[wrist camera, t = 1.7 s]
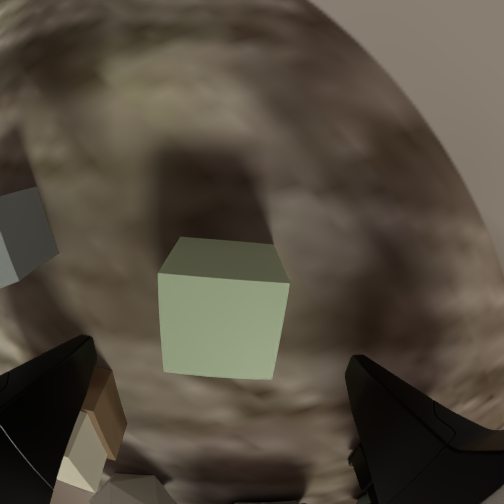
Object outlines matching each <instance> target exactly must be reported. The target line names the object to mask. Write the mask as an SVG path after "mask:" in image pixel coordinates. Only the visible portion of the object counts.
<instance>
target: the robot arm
mask: <svg viewBox="0 0 504 504" xmlns="http://www.w3.org/2000/svg"><path fill="white" fill-rule="evenodd" d="M96 361H97V353H96V349H95V345H94V341H93V338H92V337H91V336H88V335H83V334H82V335H79V336H77V337H75V338H73V339H71V340H69V341H67V342H65V343H63V344H61V345H59V346H57V347H55V348H53V349H51V350H49V351H47V352H45V353H43V354H42V355H40V356H38V357H36V358H34V359H32V360H30V361H28V362H26V363H24V364H22V365H20V366H18V367H16V368H14V369H12V370H10V372H9V371H8V372H6V373H4V374H2V375H0V504H50V501H51V497H52V493H53V489H54V486H55V483H56V479H57V476H58V473H59V469H60V466H61V463H62V460H63V457H64V454H65V451H66V448H67V445H68V442H69V440H70V437H71V434H72V431H73V428H74V426H75V423H76V420H77V418H78V415H79V413H80V410H81V408H82V405H83V403H84V400H85V397H86V395H87V392H88V388H89V385H90V381H91V378H92V374H93V371H94V368H95V364H96ZM345 380H346V385H347V390H348V395H349V400H350V405H351V410H352V414H353V418H354V421H355V424H356V427H357V430H358V433H359V437H360V440H361V444H360V446H359V447H358V449H357V450H356V452H355V453H354V454H353V456H352V457H351V459H350V460H349V462H348V464H349V466H353V467H354V470H355V473H356V476H357V479H358V482H359V485H360V488H361V490H362V491H363V492H366V491H367V494H368V497H369V500H370V503H369V504H504V430H491V429H487V428H485V427H483V426H481V425H479V424H476V423H474V422H472V421H470V420H468V419H466V418H464V417H462V416H460V415H459V414H457V413H455V412H453V411H451V410H449V409H448V408H446V407H444V406H443V405H441V404H439V403H438V402H436V401H435V400H433V399H431V398H430V397H428V396H427V395H425V394H423V393H422V392H420V391H419V390H417V389H416V388H414V387H412V386H411V385H409V384H408V383H406V382H405V381H403V380H402V379H400V378H398V377H397V376H395V375H394V374H392V373H391V372H389V371H388V370H386V369H385V368H383V367H382V366H380V365H378V364H377V363H375V362H374V361H372V360H371V359H369V358H368V357H366V356H365V355H362V354H361V355H353V356H352V357H351V359H350V361H349V364H348V367H347V369H346V372H345Z"/></svg>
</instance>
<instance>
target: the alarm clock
mask: <svg viewBox="0 0 504 504" xmlns="http://www.w3.org/2000/svg"><path fill="white" fill-rule="evenodd" d="M234 504H297V500H296V501H284V502H263V503H234ZM301 504H306V503H301Z"/></svg>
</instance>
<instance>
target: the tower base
mask: <svg viewBox="0 0 504 504" xmlns="http://www.w3.org/2000/svg"><path fill="white" fill-rule="evenodd" d="M42 354H43V353H42ZM42 354H41V355H42ZM80 411H82V412H85V413H87V414H88V416H89V418H90V420H91V423H92V425H93V427H94V429H95V431H96V433H97V435H98V437H99V439H100V441H101V443H102V445H103V447H104V449H105V451H106V453H107V459H111V460H115V461H116V459H117V456H118V452H119V449H120V445H121V442H122V439H123V436H124V432H125V429H126V426H127V421H126V418H125V415H124V412H123V408H122V405H121V402H120V398H119V395H118V391H117V387H116V383H115V380H114V376H113V372H112V370H108V369H103V368H98V367H95V368H94V371H93V374H92V378H91V381H90V385H89V388H88V392H87V395H86V397H85V400H84V403H83V405H82V408H81V410H80Z"/></svg>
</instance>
